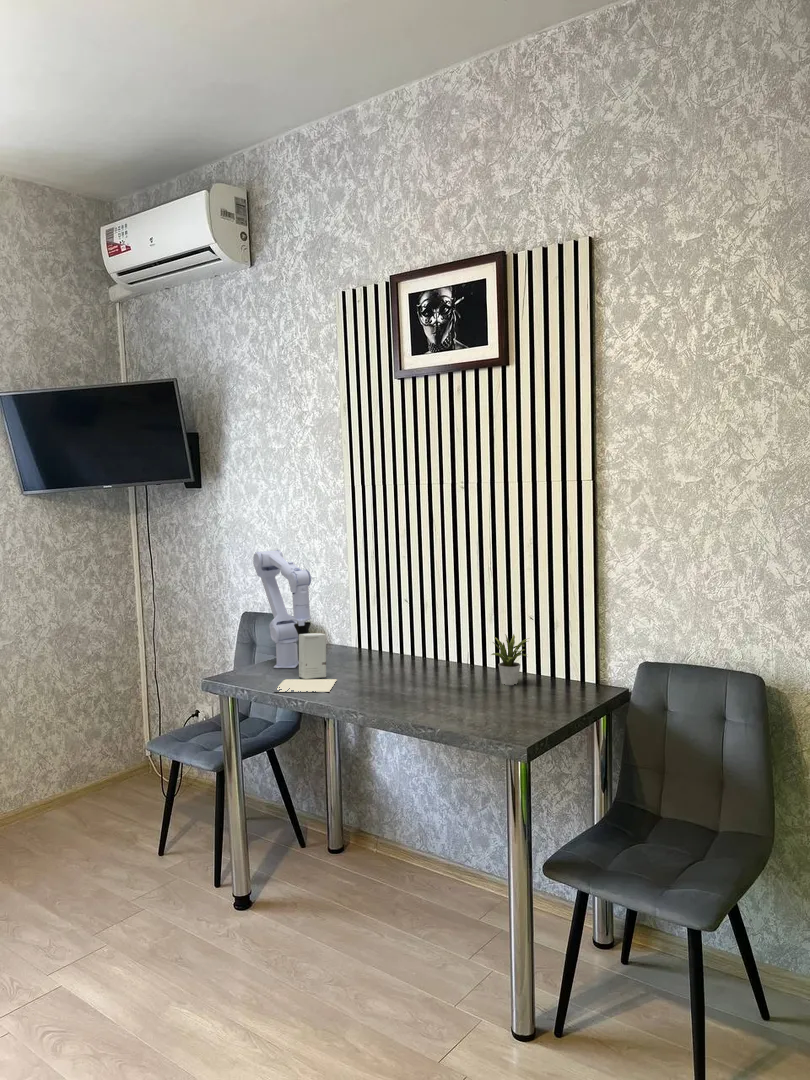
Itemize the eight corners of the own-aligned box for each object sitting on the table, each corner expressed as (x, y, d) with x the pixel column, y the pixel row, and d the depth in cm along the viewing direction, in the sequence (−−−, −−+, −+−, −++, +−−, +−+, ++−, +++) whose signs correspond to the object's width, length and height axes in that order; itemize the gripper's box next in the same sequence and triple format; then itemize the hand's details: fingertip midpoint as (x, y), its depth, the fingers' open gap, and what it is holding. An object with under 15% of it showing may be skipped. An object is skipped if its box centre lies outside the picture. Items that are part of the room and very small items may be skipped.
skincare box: (304, 679, 267) (303, 635, 267) (298, 676, 273) (297, 633, 272) (327, 677, 271) (326, 633, 271) (321, 674, 276) (320, 631, 276)
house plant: (537, 689, 250) (536, 638, 249) (493, 690, 250) (492, 639, 249) (529, 678, 265) (529, 629, 263) (488, 679, 265) (487, 630, 263)
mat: (284, 680, 269) (284, 679, 269) (337, 680, 267) (337, 679, 267) (273, 693, 254) (273, 691, 254) (329, 693, 252) (329, 691, 252)
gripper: (290, 603, 284) (293, 641, 285) (288, 608, 270) (290, 647, 270) (310, 602, 285) (312, 639, 285) (309, 606, 270) (311, 646, 271)
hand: (303, 643), depth 278 cm, fingers closed
